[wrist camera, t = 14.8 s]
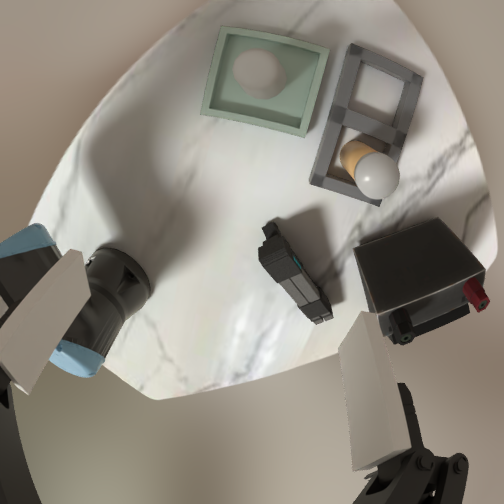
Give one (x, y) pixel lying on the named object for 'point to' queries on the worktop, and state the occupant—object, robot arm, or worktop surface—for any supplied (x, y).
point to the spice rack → (355, 152)
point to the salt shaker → (259, 73)
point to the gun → (292, 276)
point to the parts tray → (276, 108)
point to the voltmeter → (420, 280)
